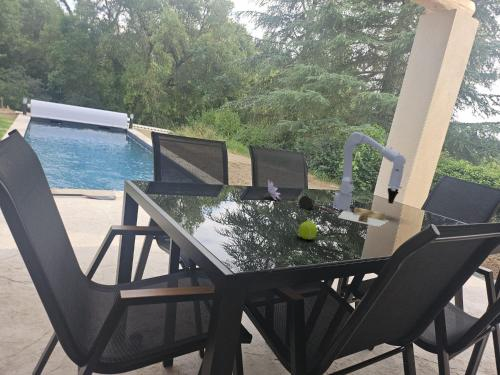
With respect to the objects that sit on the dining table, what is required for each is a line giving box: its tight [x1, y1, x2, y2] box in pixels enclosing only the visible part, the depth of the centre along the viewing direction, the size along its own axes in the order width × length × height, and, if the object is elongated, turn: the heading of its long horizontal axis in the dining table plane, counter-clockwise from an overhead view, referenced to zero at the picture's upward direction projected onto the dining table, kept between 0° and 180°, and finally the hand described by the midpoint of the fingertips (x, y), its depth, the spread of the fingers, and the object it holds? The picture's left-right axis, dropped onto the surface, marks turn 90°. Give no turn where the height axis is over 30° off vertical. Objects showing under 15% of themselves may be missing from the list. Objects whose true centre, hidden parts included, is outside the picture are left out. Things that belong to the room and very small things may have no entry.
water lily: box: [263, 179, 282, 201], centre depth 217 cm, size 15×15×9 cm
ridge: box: [359, 213, 368, 223], centre depth 194 cm, size 4×8×3 cm, turn 159°
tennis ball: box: [298, 220, 318, 241], centre depth 148 cm, size 7×7×7 cm
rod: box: [353, 207, 387, 221], centre depth 205 cm, size 16×3×3 cm, turn 69°
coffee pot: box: [298, 195, 335, 214], centre depth 204 cm, size 8×18×8 cm
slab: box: [337, 210, 389, 228], centre depth 198 cm, size 24×22×1 cm
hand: (390, 202), depth 206 cm, fingers open, 7 cm apart
